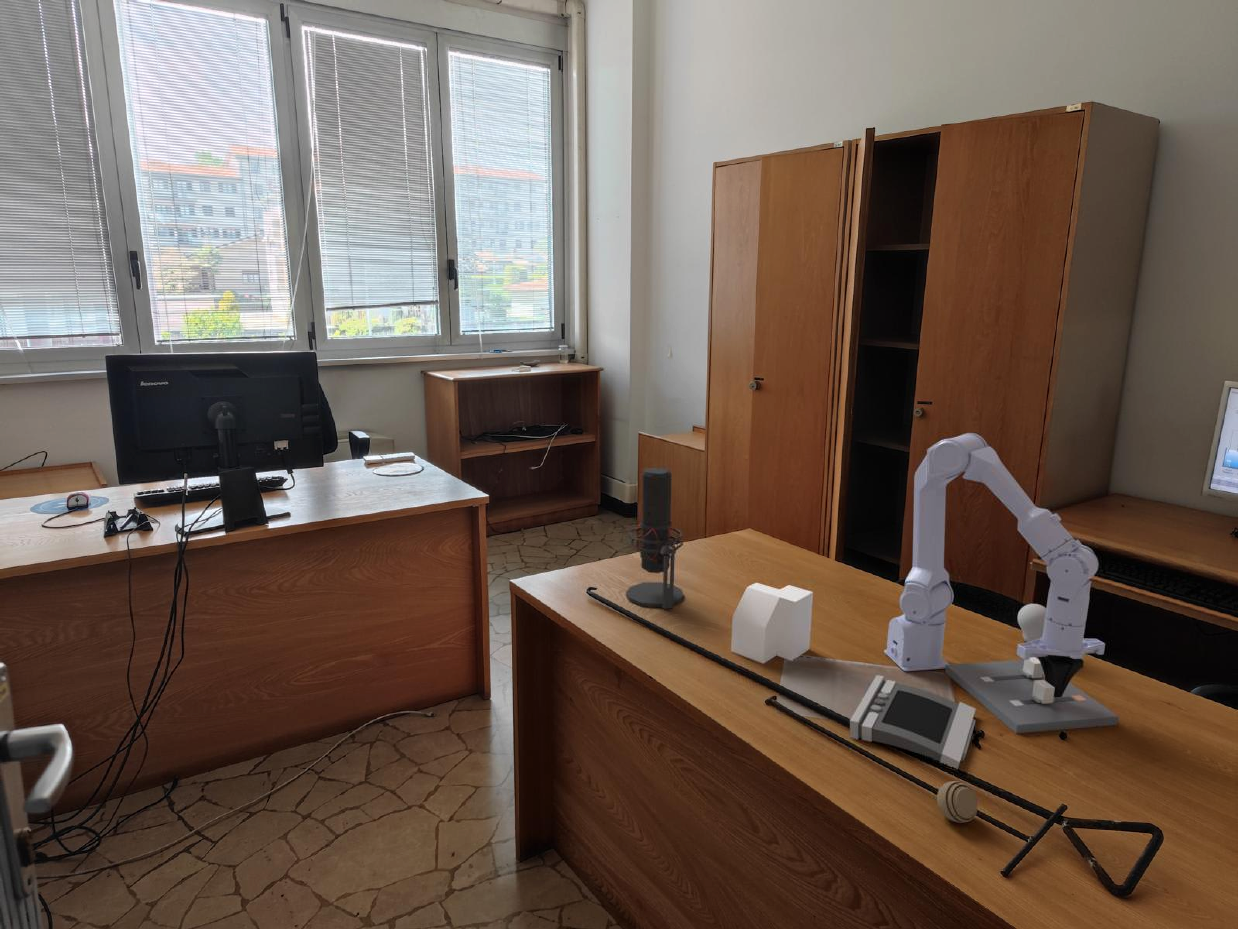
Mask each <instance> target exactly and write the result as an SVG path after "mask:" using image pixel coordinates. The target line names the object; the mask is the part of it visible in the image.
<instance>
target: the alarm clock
mask: <svg viewBox="0 0 1238 929" xmlns="http://www.w3.org/2000/svg"><path fill="white" fill-rule="evenodd" d="M976 710H977V708H975V707H973V706H970V705H968V704H966V703H963V702H961V701H959V703H957V702H955V701H953V700H950V699H949V698H946V697H944V696H941V695H938V694H936V693H933V692H931V691H929V690H925V689H921V688H918V687H915V686H911V685H906V684H902V683H898V682H897V681H895V680H889V679H887V680H885V677H884V675H878V674H876V675H875V677H874V679H873V681H872V682H871V684H870V685H869V687H868V689H867V690H866V692H865V695H864V696H863V697H862V699H861V700H860V702H859V704H858V706H857V708H856V709H855V711H854V713H853V715H851V718H850V719H849V738H851V739H853V740H859V739H861V740H862V741H867V742H870V743H872V742H876V743H882V744H885V745H890V746H894V747H897V748H900V749H904V750H907V751H910V752H913V753H916V754H918V753H919V755H921V754H922V755H921V756H923V755H925V756H924V757H926V756H928V757H931V758H933V759H934V760H933V759H932V760H933V761H935V760H938V761H940V762H941V763H944V764H947V765H948V766H950V767H954V768H956V769H957V770H958V768H959V765H960V762H965V758H966V756H967V752H968V751H969V750H968V749H969V746H970V742H971V738H972V736H973V731H974V728H975V725H976V722H977V721H976V719H974V717H975V713H976ZM928 757H927V758H928ZM940 762H939V763H940Z"/></svg>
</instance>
